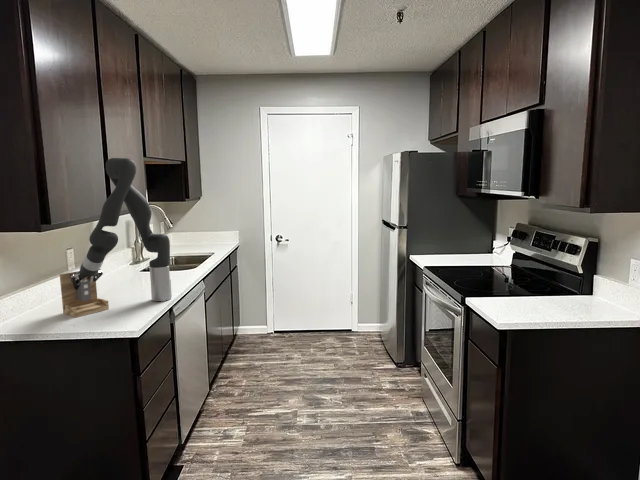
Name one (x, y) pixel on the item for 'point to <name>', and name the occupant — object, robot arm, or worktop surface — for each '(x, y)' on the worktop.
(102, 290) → the worktop surface
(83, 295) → the power strip
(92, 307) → the wooden angled stand
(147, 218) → the robot arm
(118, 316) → the worktop surface
